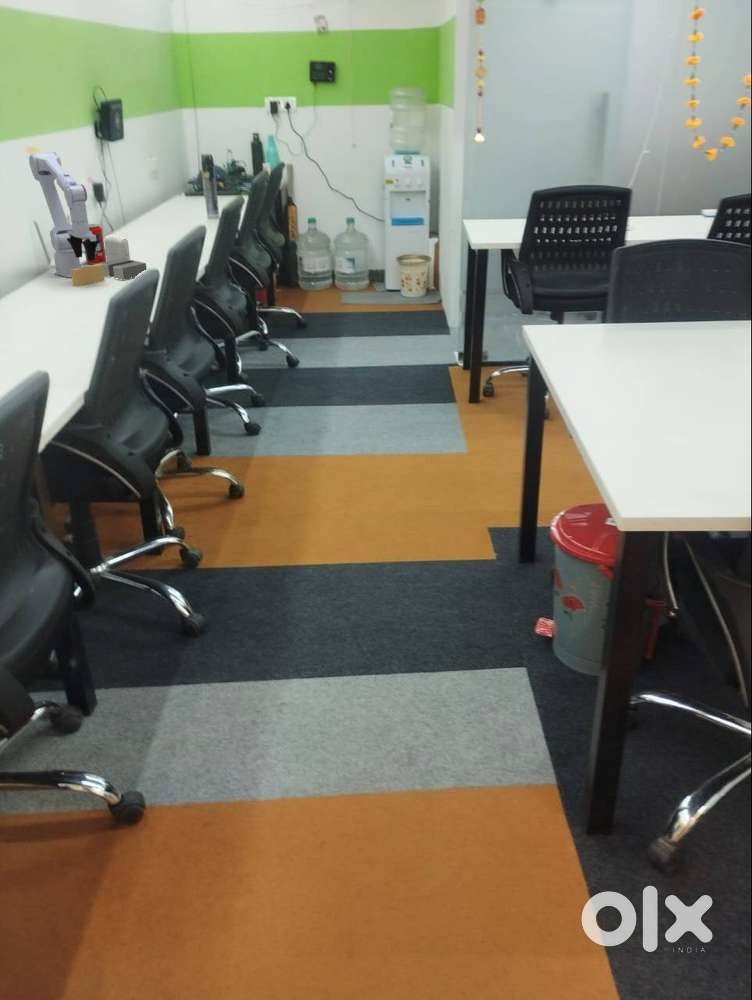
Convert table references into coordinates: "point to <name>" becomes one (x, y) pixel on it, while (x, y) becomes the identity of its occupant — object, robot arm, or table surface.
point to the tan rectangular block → (87, 275)
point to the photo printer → (116, 247)
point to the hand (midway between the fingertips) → (85, 258)
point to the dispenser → (123, 268)
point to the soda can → (100, 249)
